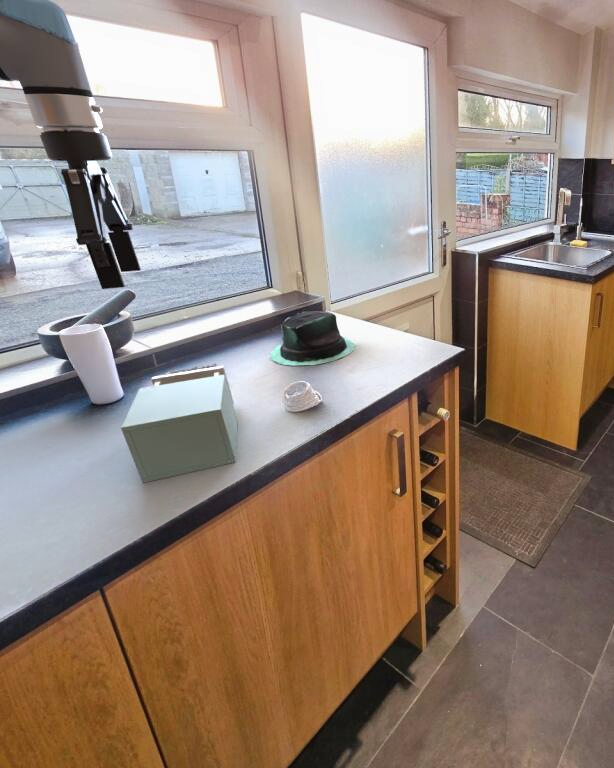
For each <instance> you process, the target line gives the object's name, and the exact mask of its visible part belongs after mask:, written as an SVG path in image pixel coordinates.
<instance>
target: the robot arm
mask: <svg viewBox="0 0 614 768" xmlns="http://www.w3.org/2000/svg"><path fill="white" fill-rule="evenodd" d="M82 58H83V57H82V55H81V52H80V48H79V43H78V42H77V41H76V38H75V35H74V33H73V30H72V27H71V25H70V23H69V20H68V17H67V14H66V12H65V11H64V9H63V8H61V6H60V5H58V4H57V3H56V2H53V1H51V0H0V81H5V82H19V84H20V85H21V87H22V92H23V94H24V97H25V100H26V102H27V105H28V109H29V111H30V113H31V114H30V115H31V116H32V120H33V122H34V125H35V127H37V128H39V129H42V132H40V134H39V137H40V140H41V142H42V146H43V148H44V151H45V154H46V157H47V159H49V160H50V161H52V162H66V163H67V166H68V168H61V169H60V173H61V177H62V178H63V181H64V184H65V187H66V191H67V196H68V200H69V205H70V209H71V215H72V219H73V223H74V227H75V232H76V238H75V241H76V244H77V245H78V246H85V247H86V249H87V252H88V254H89V257H90V260H91V263H92V266H93V268H94V271H95V273H96V276H97V279H98V282H99V285H100V287H101V289H102V290H108V289H117V288H118V289H119V288H125V286H126V285H125V282H124V278H123V276H122V274H121V273H126V272H127V273H128V272H136V271H137V272H139V271H141V270H142V268H141V266H140V263H139V259H138V257H137V253H136V251H135V246H134V244H133V241H132V238H131V235H130V231H134V226H133V224H132V223H130V220H128V217H127V215H126V213H125V210H124V209H123V205H122V203H121V201H120V199H119V198H118V197H119V196H118V194H117V192H116V190H115V188H114V185H113V183H112V181H111V178H110V175H109V170H108V169H107V167H106V166H100V165H99V163H98V161H99V162H101V161H103V162H104V161H112V160H113V158H114V156H113V153H112V150H111V147H110V144H109V141H108V138H107V135H105V134H104V133H103V132H100V131H99V130H101V129H102V128H103V127H104V126H103V124H102V120H101V117H100V115H99V114H100V113H103V108H102V106H101V105H100V104H96V101H95V99H94V93H93V92H92V88H91V85H90V81H89V78H88V75H87V72H86V68H85V66H84V62H83V59H82ZM98 113H99V114H98ZM106 227H107V229H108V230H109V232H107V234H108V238H109V241H110V242H107V241H108V239H107V235H106Z"/></svg>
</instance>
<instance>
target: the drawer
mask: <svg viewBox="0 0 614 768" xmlns="http://www.w3.org/2000/svg"><path fill="white" fill-rule="evenodd" d="M219 375H225V378H226V382H227V385H228V389H229V392H230V396H231V400H232V403H233V406H234V404H235V401H234V398H233V397H234V396H233V394H232V391H231V387H230V383H229V380H228V376H227V373H226V369H225V366H224V365H220V366H217V367H212V368H206V369H199V370H193V371H187V372H180V373H174V374H167V375H164V374H162V375H156V376H152V377H151V383H152V386H158V385H164V384H170V383H176V382H182V381H189V380H195V379H201V378H207V377H213V376H219Z"/></svg>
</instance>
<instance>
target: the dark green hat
mask: <svg viewBox="0 0 614 768" xmlns="http://www.w3.org/2000/svg"><path fill="white" fill-rule="evenodd" d="M280 328H281V333H282V338H281V340H282V343H281V344H279V345H277V346H276V347H275V348H273V350H272V351H271V352H270V355H269V358H270V360H271V361H272V362H274V363H277V364H279V365H284V366H293V367H294V366H315V365H322V364H325V363H331V362H333V361H336V360H338V359H341V358H344V357H347V356H348V355H349V354H351V353H352V352H353V351H354V350H355V349H356V344H355V342H354V341H353V340H351V339H348V338H346V337H344V336H342V335H341V333H340V330H339V327H338V323H337V316H336V314H334V313H332V312H328V311H319V310H313V311H312V310H310V311H302V312H301V313H300V312H297V313H296V314H294V315H293V316H288V317H287V318H286V319H284V321H283V322H282V323H281V327H280Z"/></svg>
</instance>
